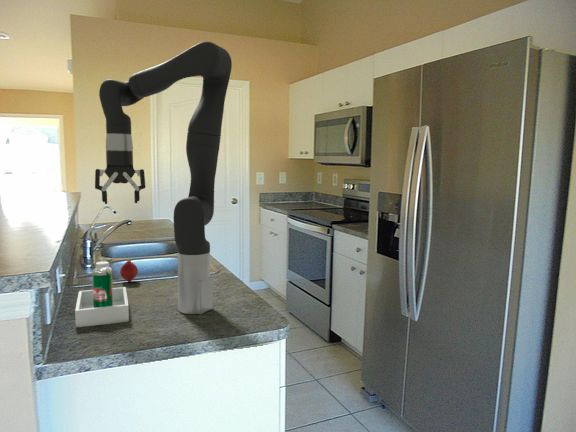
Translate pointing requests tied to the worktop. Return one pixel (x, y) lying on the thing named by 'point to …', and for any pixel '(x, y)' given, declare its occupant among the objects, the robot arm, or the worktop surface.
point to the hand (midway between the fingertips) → (121, 203)
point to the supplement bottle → (103, 266)
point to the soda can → (102, 288)
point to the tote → (101, 309)
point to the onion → (128, 271)
